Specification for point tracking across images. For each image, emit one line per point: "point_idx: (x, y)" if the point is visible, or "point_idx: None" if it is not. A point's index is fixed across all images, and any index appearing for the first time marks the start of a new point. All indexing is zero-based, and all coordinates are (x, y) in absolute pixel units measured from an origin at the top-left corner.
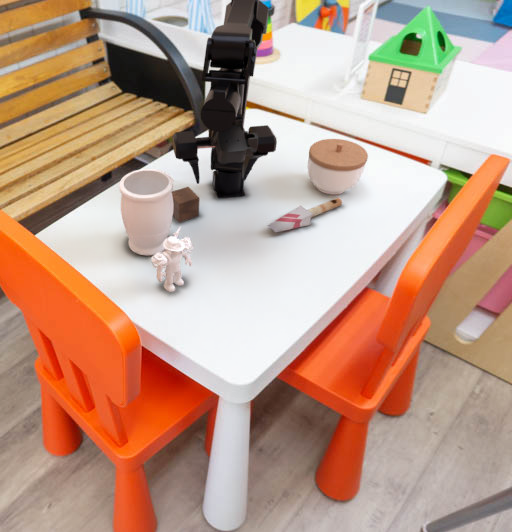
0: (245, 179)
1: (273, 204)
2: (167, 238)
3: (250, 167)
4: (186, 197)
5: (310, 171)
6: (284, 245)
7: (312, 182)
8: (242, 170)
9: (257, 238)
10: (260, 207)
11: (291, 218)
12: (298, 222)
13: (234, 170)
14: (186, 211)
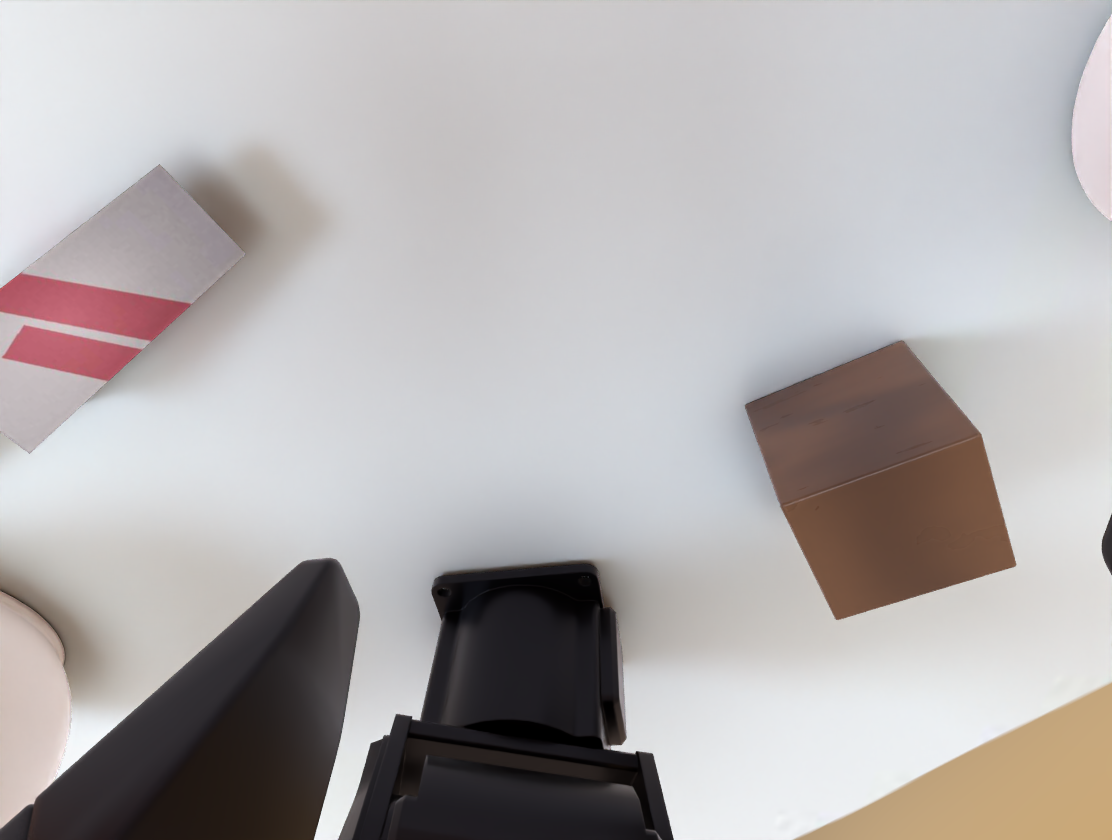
0: (298, 566)
1: (259, 506)
2: (1102, 92)
3: (74, 793)
4: (888, 508)
5: (11, 720)
6: (101, 56)
7: (42, 652)
8: (333, 728)
9: (325, 150)
10: (334, 482)
11: (65, 323)
12: (7, 283)
13: (487, 742)
14: (866, 405)
